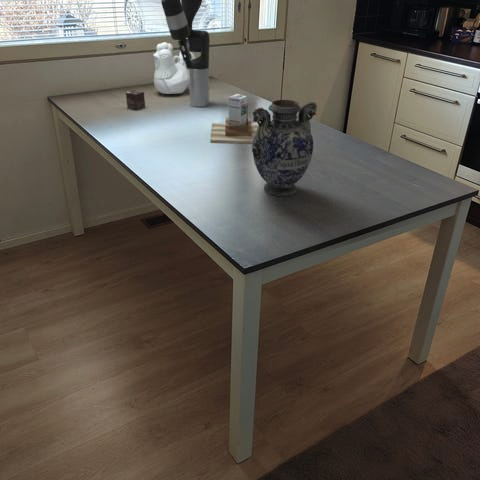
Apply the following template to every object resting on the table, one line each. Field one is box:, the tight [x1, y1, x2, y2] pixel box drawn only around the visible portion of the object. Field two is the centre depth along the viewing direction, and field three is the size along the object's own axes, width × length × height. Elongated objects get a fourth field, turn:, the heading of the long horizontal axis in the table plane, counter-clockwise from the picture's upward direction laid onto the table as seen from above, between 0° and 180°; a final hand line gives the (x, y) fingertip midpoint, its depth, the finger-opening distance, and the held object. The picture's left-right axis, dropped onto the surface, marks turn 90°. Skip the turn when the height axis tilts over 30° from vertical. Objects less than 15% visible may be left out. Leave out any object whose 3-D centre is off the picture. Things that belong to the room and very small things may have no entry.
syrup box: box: [227, 93, 249, 125], centre depth 212 cm, size 6×6×14 cm
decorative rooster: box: [152, 41, 197, 95], centre depth 264 cm, size 25×16×25 cm, turn 117°
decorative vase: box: [251, 99, 318, 197], centre depth 163 cm, size 21×19×28 cm
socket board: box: [209, 117, 259, 144], centre depth 215 cm, size 22×22×5 cm
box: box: [125, 89, 146, 111], centre depth 244 cm, size 6×6×7 cm
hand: (189, 63), depth 212 cm, fingers open, 8 cm apart
